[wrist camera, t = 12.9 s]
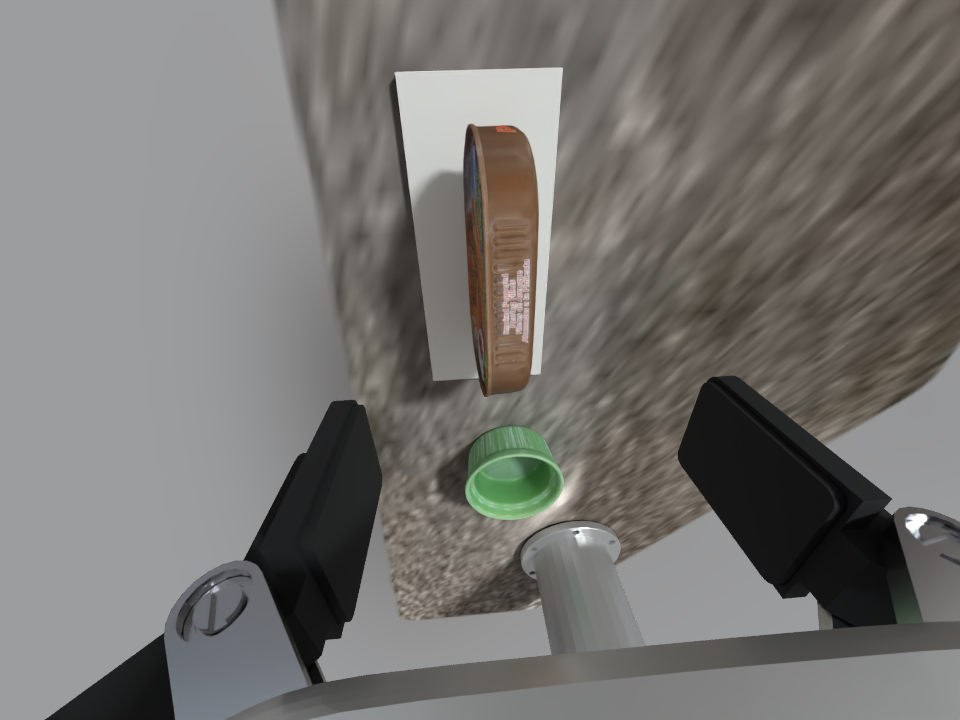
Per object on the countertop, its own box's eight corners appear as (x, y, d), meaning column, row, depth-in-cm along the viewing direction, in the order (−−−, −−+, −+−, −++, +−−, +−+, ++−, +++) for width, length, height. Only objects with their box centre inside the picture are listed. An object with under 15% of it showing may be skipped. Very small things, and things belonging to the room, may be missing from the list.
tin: (460, 128, 20) (464, 118, 13) (514, 126, 20) (549, 115, 13) (472, 353, 28) (478, 425, 21) (511, 351, 28) (531, 422, 21)
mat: (538, 370, 30) (540, 374, 29) (433, 376, 29) (433, 381, 29) (559, 69, 19) (562, 67, 19) (396, 74, 19) (394, 72, 18)
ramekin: (546, 481, 38) (556, 518, 34) (463, 484, 37) (464, 522, 33) (558, 418, 33) (571, 453, 29) (463, 420, 32) (465, 456, 29)
